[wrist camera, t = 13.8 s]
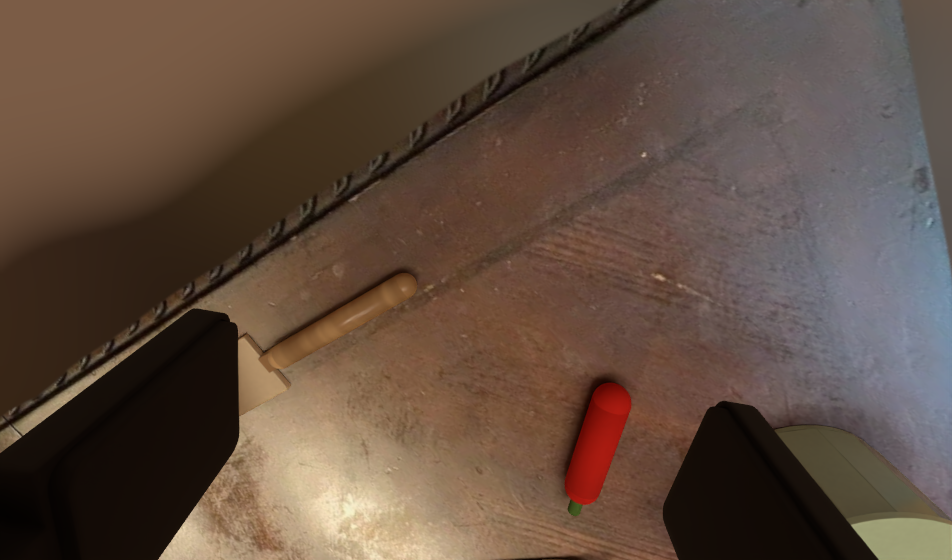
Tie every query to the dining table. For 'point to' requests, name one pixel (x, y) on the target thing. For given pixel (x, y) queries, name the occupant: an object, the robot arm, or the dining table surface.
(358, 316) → the spatula
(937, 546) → the pot lid
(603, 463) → the chili pepper
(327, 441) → the dining table surface
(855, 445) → the pot
